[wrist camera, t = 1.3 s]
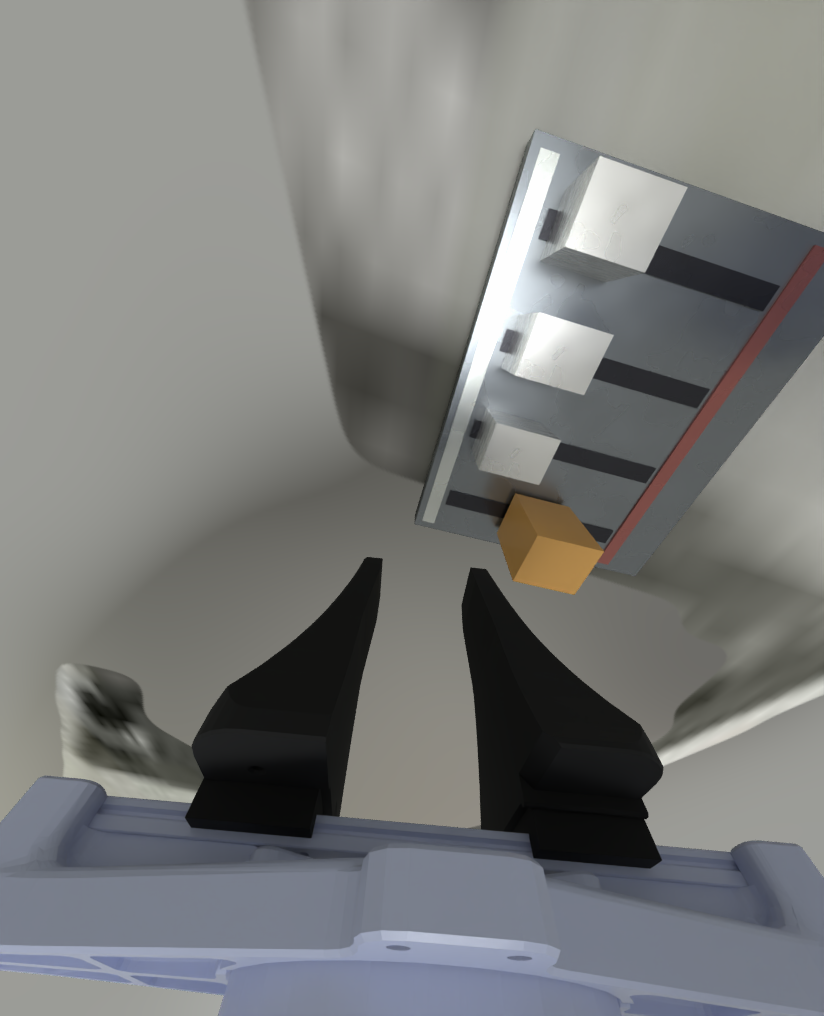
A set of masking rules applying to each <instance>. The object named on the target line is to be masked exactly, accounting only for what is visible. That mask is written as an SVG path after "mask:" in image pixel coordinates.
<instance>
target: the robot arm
mask: <svg viewBox="0 0 824 1016" xmlns="http://www.w3.org/2000/svg"><path fill="white" fill-rule="evenodd" d="M382 560H383V559H382V558H372V557H367V558H365V559H364V561H363V563H362V564H361V566H360V568H359V569H358V571H357V572H356V574H355V575H354V577H353V578H352V579H351V581H350V582H349V584H348V585H347V586H346V587H345V589H344V590H343V591H342V593H341V594H340V595H339V596H338V597H337V598H336V600H335V601H334V602H333V603H332V604H331V605H330V606H329V608H328V609H327V610H326V611H325V612H324V613H323V614H322V615H321V616H320V617H319V618H318V619H317V620H316V621H315V622H314V623H313V624H312V625H311V626H310V627H309V628H307V629H306V630H305V631H304V632H303V633H302V634H300V635H299V636H298V637H297V638H296V639H295V640H294V641H292V642H291V643H290V644H289V645H287V646H286V647H285V648H283V649H282V650H281V651H279V652H278V653H277V654H275V655H274V656H273V657H271V658H270V659H269V660H268V661H266V662H265V663H263V664H262V665H260V666H259V667H257V668H256V669H254V670H253V671H251V672H249V673H248V674H246V675H245V676H243V677H242V678H240V679H239V680H237V681H235V682H234V683H232V684H230V685H229V686H227V688H226V689H225V691H224V692H223V693H222V695H221V696H220V698H219V699H218V700H217V702H216V703H215V705H214V706H213V707H212V709H211V710H210V712H209V714H208V715H207V717H206V719H205V721H204V723H203V725H202V726H201V728H200V730H199V732H198V733H197V735H196V737H195V739H194V741H193V744H192V750H193V754H194V757H195V759H196V761H197V763H198V765H199V767H200V770H201V772H202V774H203V776H204V779H203V781H202V783H201V785H200V787H199V789H198V791H197V793H196V795H195V797H194V799H193V801H192V803H182V802H171V801H160V800H148V799H137V798H126V797H115V796H107V794H106V791H105V789H104V788H103V787H102V786H101V785H100V784H98V783H96V782H93V781H91V780H86V779H77V778H66V777H54V776H42V777H40V778H38V779H37V780H36V781H35V783H34V784H33V785H32V786H31V787H30V788H29V790H28V791H27V792H26V793H25V794H24V795H23V797H22V798H21V799H20V800H19V801H18V803H17V804H16V805H15V806H14V807H13V808H12V810H11V811H10V812H9V813H8V814H7V815H6V817H5V818H4V819H3V820H2V821H1V822H0V970H1V971H12V972H23V973H33V974H43V975H53V976H63V977H71V978H80V979H89V980H99V981H106V982H115V983H123V984H132V985H140V986H149V987H157V988H165V989H173V990H182V991H191V992H200V993H207V994H216V995H224V997H223V1000H222V1004H221V1007H220V1010H219V1014H218V1016H824V878H823V876H822V875H821V873H820V872H819V871H818V869H817V868H816V866H815V865H814V864H813V862H812V861H811V859H810V858H809V857H808V855H807V854H806V852H805V851H804V850H803V848H802V847H800V846H799V845H797V844H791V843H780V842H769V841H747V842H743V843H741V844H738V845H737V846H735V847H734V848H733V849H732V850H731V852H723V851H712V850H702V849H690V848H679V847H668V846H657V845H655V843H654V840H653V838H652V836H651V834H650V831H649V829H648V827H647V825H646V822H645V820H644V819H647V818H648V812H647V809H646V807H645V805H644V803H643V800H642V797H643V796H644V795H645V794H646V793H647V792H648V791H649V790H650V789H651V788H652V787H653V786H654V785H656V784H657V782H658V781H659V780H660V778H661V777H662V774H663V765H662V763H661V761H660V759H659V757H658V756H657V754H656V752H655V750H654V748H653V746H652V744H651V742H650V740H649V738H648V737H647V735H646V733H645V732H644V730H643V729H642V727H641V725H640V724H638V723H637V722H636V721H634V720H633V719H632V718H630V717H629V716H627V715H626V714H625V713H623V712H622V711H620V710H619V709H618V708H616V707H615V706H613V705H612V704H611V703H609V702H608V701H606V700H605V699H604V698H603V697H601V696H600V695H599V694H598V693H596V692H595V691H594V690H593V689H591V688H590V687H589V686H588V685H586V684H585V683H584V682H583V681H582V680H580V679H579V678H578V677H577V676H576V675H575V674H573V673H572V672H571V671H570V670H569V669H568V668H567V667H566V666H565V665H564V664H563V663H561V662H560V661H559V660H558V659H557V658H556V657H555V656H554V655H553V654H552V653H551V652H550V651H549V650H548V649H547V648H546V647H545V646H544V645H543V644H542V643H541V642H540V640H539V639H538V638H537V637H536V636H535V635H534V634H533V633H532V632H531V630H530V629H529V628H528V627H527V626H526V624H525V623H524V622H523V621H522V619H521V618H520V617H519V616H518V614H517V613H516V612H515V610H514V609H513V608H512V606H511V605H510V604H509V602H508V601H507V599H506V598H505V597H504V595H503V594H502V592H501V591H500V589H499V588H498V586H497V585H496V583H495V582H494V580H493V579H492V577H491V576H490V574H489V573H488V571H487V570H486V569H479V568H470V572H469V576H468V580H467V585H466V589H465V593H464V597H463V602H462V623H463V633H464V639H465V645H466V651H467V656H468V662H469V668H470V674H471V679H472V685H473V693H474V703H475V716H476V729H477V745H478V762H479V783H480V810H481V830H480V829H469V828H458V827H447V826H436V825H425V824H414V823H403V822H402V823H401V822H392V821H380V820H369V819H359V818H348V817H339V816H340V810H341V803H342V796H343V789H344V783H345V776H346V770H347V763H348V758H349V751H350V744H351V738H352V732H353V726H354V720H355V714H356V708H357V701H358V696H359V690H360V684H361V679H362V674H363V670H364V667H365V663H366V659H367V655H368V651H369V647H370V644H371V640H372V636H373V632H374V628H375V624H376V620H377V613H378V607H379V599H380V588H381V574H382V573H381V572H382Z"/></svg>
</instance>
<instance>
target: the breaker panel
mask: <svg viewBox="0 0 824 1016" xmlns="http://www.w3.org/2000/svg"><path fill="white" fill-rule="evenodd" d="M823 336H824V232H821V231H818V230H815V229H812V228H810V227H807V226H804V225H801V224H799V223H796V222H793V221H790V220H787V219H785V218H782V217H779V216H776V215H774V214H771V213H768V212H765V211H762V210H760V209H757V208H754V207H751V206H749V205H746V204H743V203H740V202H737V201H735V200H732V199H729V198H726V197H724V196H721V195H718V194H715V193H712V192H710V191H707V190H704V189H701V188H699V187H696V186H693V185H690V184H687V183H685V182H682V181H679V180H676V179H673V178H671V177H668V176H665V175H662V174H660V173H657V172H654V171H651V170H648V169H646V168H643V167H640V166H637V165H635V164H632V163H629V162H626V161H623V160H621V159H618V158H615V157H612V156H610V155H607V154H604V153H601V152H598V151H596V150H593V149H590V148H587V147H585V146H582V145H579V144H576V143H573V142H571V141H568V140H565V139H562V138H559V137H557V136H554V135H551V134H548V133H546V132H543V131H540V130H537V129H535V131H534V133H533V134H532V136H531V138H530V140H529V142H528V143H527V146H526V149H525V153H524V156H523V159H522V163H521V166H520V169H519V173H518V176H517V179H516V183H515V186H514V189H513V193H512V196H511V199H510V202H509V206H508V209H507V212H506V216H505V219H504V222H503V226H502V229H501V232H500V236H499V239H498V242H497V245H496V249H495V252H494V255H493V259H492V262H491V265H490V269H489V272H488V275H487V279H486V282H485V285H484V288H483V292H482V295H481V298H480V302H479V305H478V308H477V312H476V315H475V318H474V322H473V325H472V328H471V332H470V335H469V338H468V341H467V345H466V348H465V351H464V355H463V358H462V361H461V365H460V368H459V371H458V375H457V378H456V381H455V384H454V388H453V391H452V394H451V398H450V401H449V404H448V408H447V411H446V414H445V418H444V421H443V424H442V427H441V431H440V434H439V437H438V441H437V444H436V447H435V451H434V454H433V457H432V461H431V464H430V467H429V471H428V474H427V477H426V480H425V484H424V487H423V490H422V494H421V497H420V501H419V504H418V507H417V510H416V514H415V524H417V525H421V526H425V527H430V528H433V529H438V530H442V531H447V532H450V533H455V534H459V535H463V536H467V537H472V538H476V539H480V540H484V541H489V542H493V543H497V544H500V541H499V538H498V536H497V532H498V529H499V527H500V525H501V523H502V521H503V519H504V517H505V514H506V512H507V510H508V508H509V506H510V504H511V501H512V499H513V497H514V495H515V493H516V494H520V495H524V496H528V497H532V498H536V499H540V500H544V501H548V502H552V503H556V504H560V505H564V506H568V507H570V509H571V510H572V511H573V512H574V514H575V515H576V516H577V518H578V519H579V520H580V521H581V523H582V524H583V525H584V526H585V528H586V529H587V530H588V532H589V533H590V534H591V535H592V537H593V538H594V539H595V540H596V542H597V543H598V544H599V545H600V547H601V548H602V549H603V551H604V553H603V554H602V556H601V557H600V559H599V560H598V561H597V563H596V564H595V566H594V567H599V568H603V569H607V570H611V571H616V572H620V573H624V574H628V575H633V576H636V574H637V573H638V572H639V570H640V569H641V568H642V567H643V565H644V564H645V563H646V562H647V560H648V559H649V558H650V556H651V555H652V554H653V553H654V551H655V550H656V549H657V548H658V546H659V545H660V544H661V542H662V541H663V540H664V539H665V537H666V536H667V535H668V534H669V532H670V531H671V530H672V528H673V527H674V526H675V525H676V523H677V522H678V521H679V520H680V518H681V517H682V516H683V514H684V513H685V512H686V511H687V509H688V508H689V507H690V506H691V504H692V503H693V502H694V500H695V499H696V498H697V497H698V495H699V494H700V493H701V492H702V490H703V489H704V488H705V486H706V485H707V484H708V483H709V481H710V480H711V479H712V478H713V476H714V475H715V474H716V472H717V471H718V470H719V469H720V467H721V466H722V465H723V463H724V462H725V461H726V460H727V458H728V457H729V456H730V455H731V453H732V452H733V451H734V449H735V448H736V447H737V446H738V444H739V443H740V442H741V441H742V439H743V438H744V437H745V435H746V434H747V433H748V432H749V430H750V429H751V428H752V427H753V425H754V424H755V423H756V421H757V420H758V419H759V418H760V416H761V415H762V414H763V413H764V411H765V410H766V409H767V407H768V406H769V405H770V404H771V402H772V401H773V400H774V399H775V397H776V396H777V395H778V393H779V392H780V391H781V390H782V388H783V387H784V386H785V385H786V383H787V382H788V381H789V379H790V378H791V377H792V376H793V374H794V373H795V372H796V371H797V369H798V368H799V367H800V365H801V364H802V363H803V362H804V360H805V359H806V358H807V357H808V355H809V354H810V353H811V351H812V350H813V349H814V348H815V346H816V345H817V344H818V343H819V341H820V340H821V339H822V337H823Z"/></svg>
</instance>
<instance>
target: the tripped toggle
mask: <svg viewBox="0 0 824 1016" xmlns="http://www.w3.org/2000/svg"><path fill="white" fill-rule="evenodd" d="M497 536H498V538H499V541H500V544H501V547H502V550H503V553H504V556H505V559H506V562H507V565H508V568H509V571H510V574H511V577H512V580H513V581H515V582H519V583H524V584H528V585H533V586H538V587H542V588H546V589H550V590H555V591H559V592H564V593H568V594H572V595H575V593H576V592H577V590H578V589H579V587H580V586H581V584H582V583H583V582H584V580H585V579H586V577H587V576H588V574H589V573H590V572H591V570H592V569H593V567H594V566H595V564H596V563H597V561H598V560H599V559H600V557H601V556H602V554H603V553H604V551H603V549H602V548H601V547H600V545H599V544H598V543H597V542H596V540H595V539H594V538H593V537H592V535H591V534H590V533H589V532H588V530H587V529H586V528H585V526H584V525H583V524H582V523H581V521H580V520H579V519H578V518H577V516H576V515H575V514H574V512H573V511H572V510H571V509H570V507H568V506H564V505H560V504H556V503H552V502H548V501H544V500H540V499H536V498H532V497H528V496H524V495H520V494H516V493H515V495H514V497H513V499H512V501H511V504H510V506H509V508H508V510H507V512H506V514H505V517H504V519H503V521H502V523H501V525H500V527H499V529H498V532H497Z"/></svg>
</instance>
